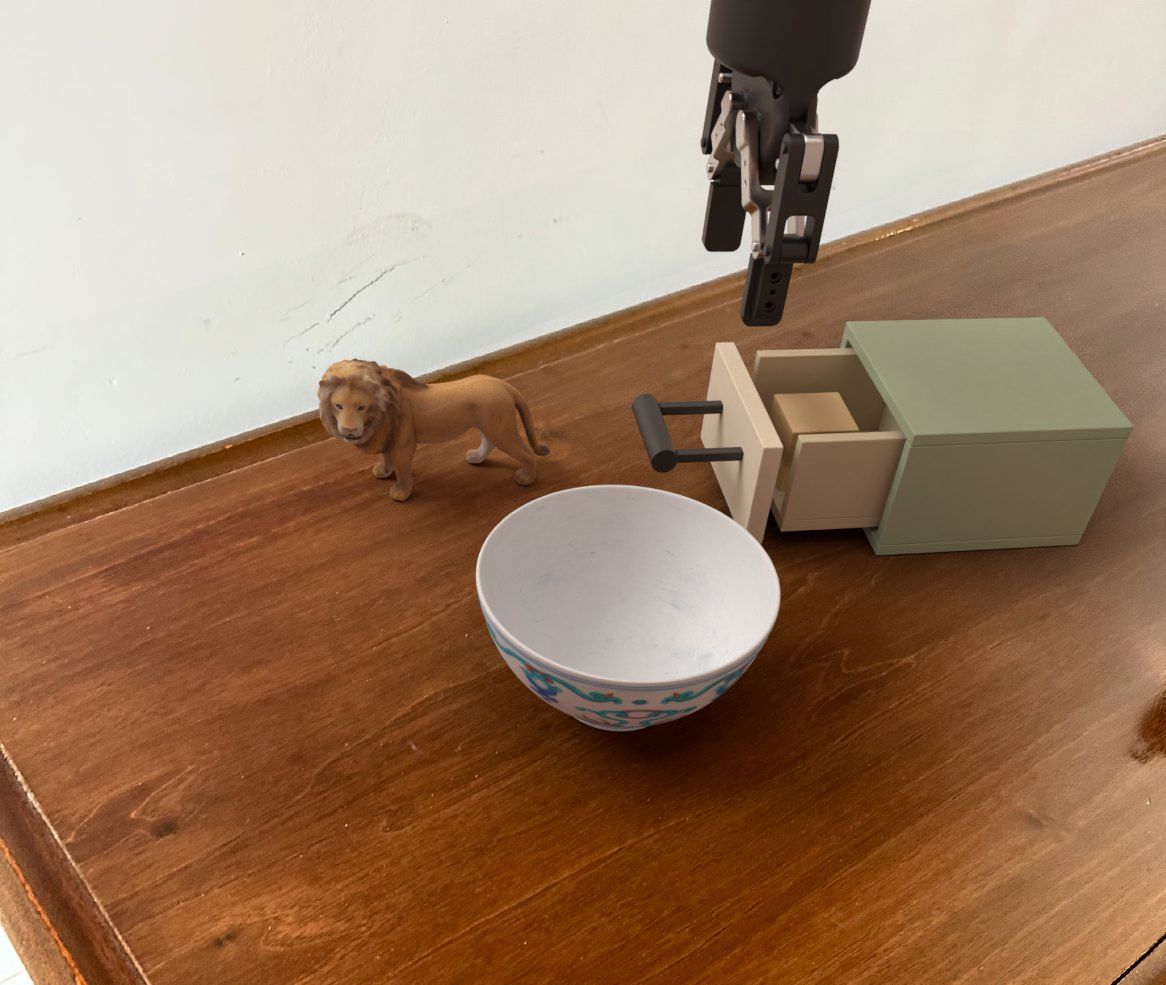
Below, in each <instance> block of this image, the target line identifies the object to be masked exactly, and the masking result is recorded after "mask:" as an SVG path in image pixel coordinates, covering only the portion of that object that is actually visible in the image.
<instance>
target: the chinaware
mask: <svg viewBox="0 0 1166 985" xmlns="http://www.w3.org/2000/svg"><path fill="white" fill-rule="evenodd" d="M475 584H476V590H477V596H478V600H479V604H480V607H481V612H482V615H483V618H484V621H485V624H486V626H487V629H488V631H489V634H490V636H491V638H492V640H493V642H494V645H495V646H496V648H497V650H498V653H499V654H500V655H501V657H502V658H503V660H504V662H505V663H506V664H507V666H508V667H509V669H510V670H511V671H512V672H513V674H514V675H515V676H516V677H517V678H518V679H519V680H520V682H521V683H522V684H523V685H524V686H525V687H526V688H527V689H529V690H530V691H531V692H532V693H533V694H535V696H537V697H538V698H539V699H541V700H542V701H543V702H545V703H547V704H548V705H550V706H551V707H552V708H555V709H557V710H558V711H560V712H562V713H564V714H566V715H568V716H571V717H573V718H574V719H576V720H577V721H579V722H581V723H583V724H585V725H587V726H590V727H593V728H596V729H599V730H602V731H603V730H604V731H610V732H630V731H636V730H641V729H645V728H647V727H651V726H657V725H662V724H666V723H670V722H673V721H676V720H679V719H681V718H684V717H686V716H689V715H691V714H693V713H695V712H697V711H699V710H700V709H703V708H705V707H706V706H708V705H709V704H710V703H713V702H714V701H716V700H717V699H718V698H719V697H721V696H722V695H723V694H724V693H726V692H727V691H728V690H729V689H730V688H731V687H732V686H733V685H734V684H735V683H736V682H737V681H738V680H739V679H740V678H741V677H742V676H743V674H745V673H746V671H747V670H748V668H750V666H751V665H752V663H753V662H754V661H755V659H756V658H757V657H758V655H759V653H760V652H761V650H762V649H763V647H764V645H765V644H766V642H767V641H768V638H769V636H770V634H771V633H772V631H773V628H774V626H775V624H776V621H777V618H778V615H779V612H780V607H781V585H780V584H781V583H780V579H779V575H778V573H777V570H776V568H775V565H774V563H773V561H772V559H771V557H770V556H769V553H768V552H766V550H765V549H764V547H763V546H762V544H760V543H759V542H758V541H757V540H756V539H755V538H754V537H753V536H752V535H751V534H750V533H749V532H748V531H747V530H746V529H744V528H743V527H742V526H741V525H739V524H738V523H737V522H735V521H734V520H733V518H731V517H730V516H728V515H726V514H725V513H723V512H722V511H720V510H718V509H716V508H713V507H712V506H710V505H708V504H705V503H703V502H701V501H698V500H697V499H696V500H695V499H693V498H690V497H688V496H685V495H682V494H679V493H675V492H670V491H667V490H663V489H657V488H653V487H647V486H638V485H626V484H597V485H588V486H587V485H585V486H578V487H573V488H568V489H564V490H560V491H556V492H552V493H549V494H546V495H544V496H540V497H538V498H536V499H533V500H530V501H529V502H527V503H525V504H523V505H521V506H519V507H518V508H517V509H515V510H513V511H512V512H510V513H509V514H508V515H507V516H505V517H504V518H503V519H502V520H501V521H500V522H499V523H498V524H496V526H494V528H493V529H492V530H491V531H490V533H489V534H488V535H487V537H486V539H485V540H484V542H483V544H482V546H481V549H480V550H479V554H478V557H477V560H476V568H475Z"/></svg>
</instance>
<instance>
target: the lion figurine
mask: <svg viewBox="0 0 1166 985" xmlns="http://www.w3.org/2000/svg"><path fill="white" fill-rule="evenodd" d="M318 385H319V386H318V390H317V397H318V400H319V404H318V409H319V419H320V421H321V423H322V426H323V427H324V429H325V430H326V431H327V433H328V434H330V435H331V436H333V437H334V438H335V439H338V440H339V441H341V442H344V443H345V444H347V445H350V446H354V447H356V448H357V449H358V451H359V452H360V453H362V454H364V455H378V454H379V456H380V461H379V462H378V463H377V464H375V465H374V466H373V469H372V474H373V475H374V477H375V478H377V479H385V478H388V477H390V476H391V475H392V473H393V471H394V472H395V475H396V484H394V485H392V486H391V487H390V489H389V497H390V498H392V499H393V500H394V501H399V502H404V501H406V500H407V499H409V497H410V495H411V494H412V490H413V482H414V480H413V477H412V466H413V460H414V456H415V454H416V452H417V447H418V445H428V444H429V445H430V444H441V443H446V442H449V441H453V440H454V439H457V438H459V437H461V436H462V435H464V434H465V433H467V432H468V431H470V430H471V429H472V428H475V429H478V431H479V433H480V436H481V443H480V446H479V447H478V448H470V449H468V450H467V451H466V453H465V461H467V462H468V463H470V464H481V463H483V461H485V460H486V459H487V457H488V456H489V455H490V454H491V453H492V451H494V449H495V448H496V449H497V450H499V451H500V452H502V453H504V454H506V455H507V456H509V457H511V458H512V459H514V460H517V461H518V462H520V463H521V464H522V466H523V468H521V469H518V470H517V471H515V474H514V480H515V481H516V482H517V483H518V484H520V485H522V486H529V485H531V484H533V482H534V481H535V480H536V476H537V464H536V456H537V457H538V456H539V457H544V458H545V457H546V456H547V455H550V453H551V450H550V449H549V447H548V446H546V445H543V444H539V443H538V442H537V437H536V436H537V435H536V431H535V426H534V420H533V417H532V413H531V410H530V407H529V406H528V403H527V402H526V400H525V398H524V396H523V394H522V393H521V392H520V391H519V390H517V389H516V388H515V387H514V386H513V385H512V384H510V383H509V382H507V381H505V380H503V379H501V378H498V377H495V376H491V375H487V374H482V373H481V374H475V375H470V376H467V377H464V378H461V379H457V380H452V381H446V382H438V383H423V382H420V381H418V380H416V379H414V378H413V376H411V375H410V374H409V373H407V372H405V371H404V370H402V369H398V368H396V369H395V368H393V367H387V365H385V364H381V365H379V363H378V362H377V361H376V360H372V361H370V360H365V359H358V358H356V357H355V358H352V359H351V360H349V359H342V360H341V361H338V362H337V361H336V362H333V363H332V364H331V365H330V366H329V367H327V369H326V370H325V372H324V374H322V377H321V379H320V380H318ZM516 410H517V411H516ZM517 412H518V415H519V417H520V420H521V422H522V426H523V429H524V432H525V435H526V439H527V442H528V443H526V442H525V441H524V439H523V437H522V435H521V434H520V432H519V428H518V423H517ZM535 455H536V456H535Z"/></svg>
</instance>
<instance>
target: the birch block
mask: <svg viewBox="0 0 1166 985" xmlns="http://www.w3.org/2000/svg"><path fill="white" fill-rule="evenodd" d="M770 420H771V422H772V424H773V426H774V428H775V430H776V432H777V434H778V436H779V439H780V441H781V443H782V445H783V452H782V456H781V461H780V465H779V470H778V474H777V479H776V484H777V486H778V488H779V490H780V491H786V486H787V482H788V478H789V474H790V469H791V465H792V461H793V457H794V452H795V448H796V444H797V439H798V436H799V435H808V434H835V433H859V428H858V426H857V425H856V423H855V421H854V419H853V417H852V416H851V414H850V412H849V410H848V408H847V407H846V405H845V403H844V401H843V399H842V398H841V396H840V394H839V392H829V393H798V394H775V395H774V399H773V403H772V408H771V413H770Z"/></svg>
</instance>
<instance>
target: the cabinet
mask: <svg viewBox="0 0 1166 985" xmlns="http://www.w3.org/2000/svg"><path fill="white" fill-rule="evenodd" d="M839 348H853V349H854V351H855V352H856V354H857V356H858V357H859V359H860V361H861V362H862V364H863V366H864V367H865V369H866V371H867V373H868V374H869V376H870V378H871V379H872V381H873V383H874V384H875V386H876V388H877V389H878V391H879V393H880V395H881V396H882V398H883V400H884V401H885V403H886V405H887V406H888V408H889V410H890V411H891V413H892V415H893V417H894V418H895V420H896V422H897V423H898V425H899V427H900V428H901V430H902V432H903V433H904V435H905V437H906V439H907V440H906V442H905V445H904V448H903V452H902V455H901V458H900V461H899V464H898V467H897V471H896V474H895V477H894V480H893V483H892V487H891V490H890V493H889V496H888V499H887V502H886V506H885V509H884V512H883V515H882V518H881V522H880V525H879V527H862V531H863V532H864V535H865V537H866V538H867V541H868V542H869V544H870V546H871V549H872V550H873V553H874V554H875V556H890V555H910V554H925V553H926V554H929V553H946V552H947V553H948V552H950V553H951V552H964V551H965V552H969V551H983V550H1001V549H1003V550H1005V549H1020V548H1022V549H1024V548H1039V547H1057V546H1058V547H1059V546H1076V545H1077V546H1078V545H1079V543H1080V541H1081V539H1082V537H1083V534H1084V533H1085V530H1086V529H1087V527H1088V524H1089V522H1090V520H1091V518H1092V516H1093V514H1094V512H1095V510H1096V508H1097V505H1098V503H1099V501H1100V499H1101V497H1102V495H1103V493H1104V491H1105V489H1106V486H1107V484H1108V483H1109V480H1110V478H1111V476H1112V474H1113V472H1114V469H1115V468H1116V465H1117V463H1118V461H1119V459H1120V457H1121V455H1122V453H1123V451H1124V449H1125V447H1126V445H1127V442H1128V441H1129V438H1130V436H1131V433H1132V432H1133V430H1134V425H1133V423H1132V422H1131V421H1130V420H1129V419H1128V418H1127V416H1126V414H1124V413H1123V412H1122V410H1121V408H1120V407H1119V406H1118V405H1117V404H1116V403H1115V401H1114V400H1113V398H1111V396H1110V395H1109V393H1107V391H1105V389H1104V388H1103V387H1102V385H1101V384H1100V383H1099V382H1098V381H1097V379H1096V378H1095V377H1094V376H1093V375H1092V373H1091V372H1090V371H1089V369H1088V368H1087V366H1085V365H1084V363H1083V362H1082V361H1081V360H1080V358H1079V357H1078V356H1077V355H1076V353H1075V352H1074V351H1073V350H1072V348H1071V347H1070V346H1069V345H1068V344H1067V342H1066V341H1065V340H1064V339H1063V337H1062V336H1061V335H1060V334H1059V332H1058V331H1057V330H1056V329H1055V328H1054V326H1053V325H1052V324H1051V323H1050V321H1049V320H1048V319H1047V318H1046V317H1044V316H1040V317H1039V316H1037V317H1001V318H1000V317H998V318H997V317H995V318H992V317H991V318H988V317H987V318H947V319H946V318H945V319H944V318H942V319H900V320H899V319H898V320H897V319H896V320H849V321H846V322H845V326H844V331H843V335H842V337H841V342H840V347H839Z"/></svg>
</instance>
